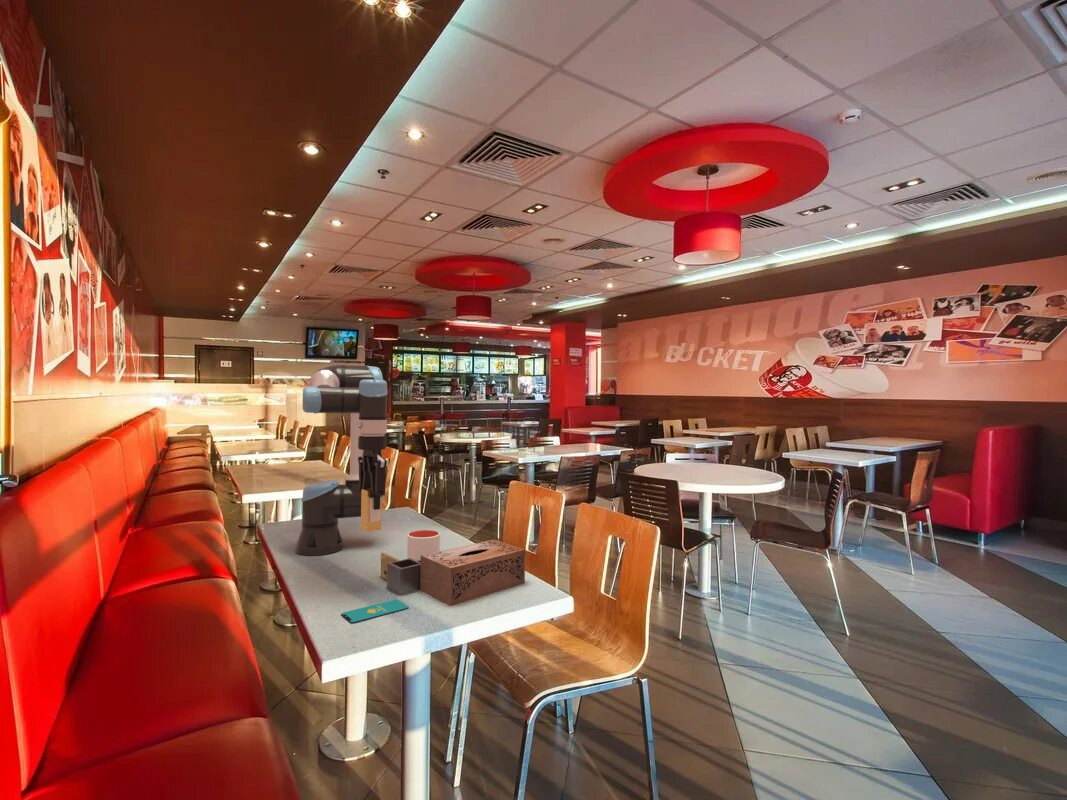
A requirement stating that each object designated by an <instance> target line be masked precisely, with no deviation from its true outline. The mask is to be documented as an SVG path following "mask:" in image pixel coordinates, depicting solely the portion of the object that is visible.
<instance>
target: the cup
mask: <svg viewBox="0 0 1067 800" xmlns="http://www.w3.org/2000/svg"><path fill="white" fill-rule="evenodd" d="M440 546H441V534H440V532H439V531H438V530H432V529H431V530H429V529H423V530H422V529H420V530H413V531H410V532H409V533H407V552H406V553H407V557H406V559H408V558H411V559H414V560H416V561H417V560H421V555H425V554H430V553H435V552H439V551H441V550H440Z"/></svg>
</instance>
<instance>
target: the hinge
mask: <svg viewBox="0 0 1067 800" xmlns="http://www.w3.org/2000/svg"><path fill="white" fill-rule="evenodd" d="M420 563H421V560H417V561H416V560H414V559H411V558H408V559H407V558H405V559H399V558H397V557H394V556H393V555H389V554H388V553H386V552H381V553H380V578H383V579H385V580H386V589H387V590H389V591H391V592H393V593H394V594H397V595H398V596H403V595H407V594H411V593H414V591H415V592H418V591H420Z"/></svg>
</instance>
